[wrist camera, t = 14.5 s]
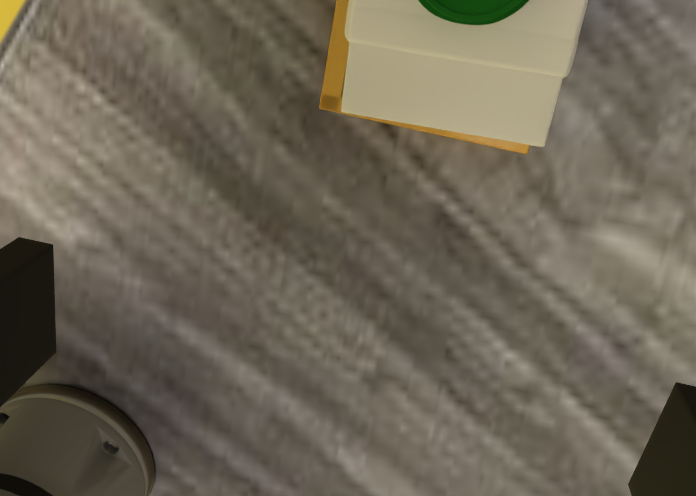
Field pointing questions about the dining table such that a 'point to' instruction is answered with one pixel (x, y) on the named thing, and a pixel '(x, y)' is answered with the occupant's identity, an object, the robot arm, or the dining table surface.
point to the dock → (333, 102)
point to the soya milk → (461, 63)
